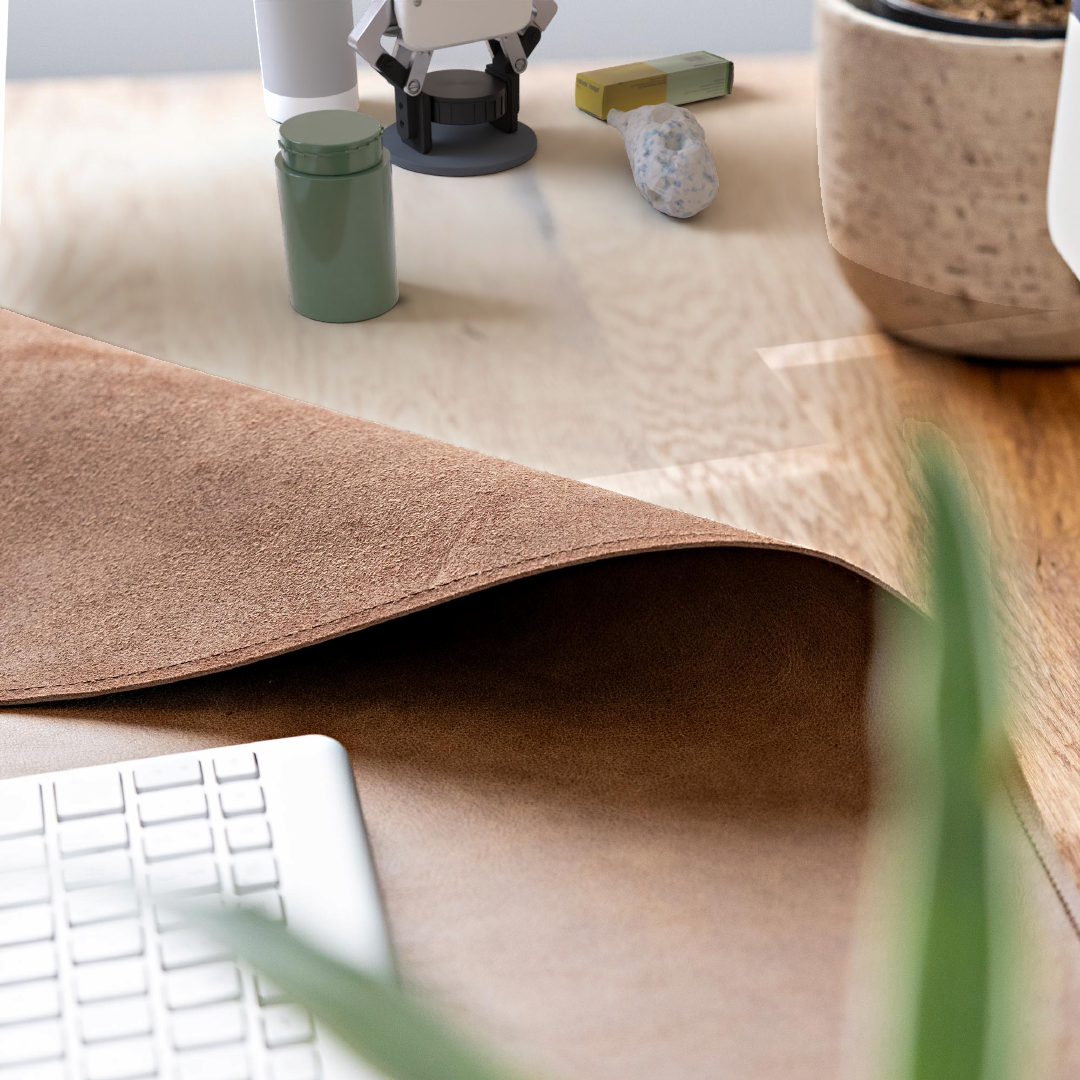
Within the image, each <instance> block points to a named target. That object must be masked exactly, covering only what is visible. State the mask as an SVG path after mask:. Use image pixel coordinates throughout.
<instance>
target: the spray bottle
mask: <svg viewBox="0 0 1080 1080" xmlns="http://www.w3.org/2000/svg"><path fill="white" fill-rule="evenodd" d="M252 1H253V10H254V18H255V19H254V20H255V28H256V29H255V30H256V36H257V45H258V54H259V62H260V71H261V80H262V87H263V89H262V90H263V98H264V107H265V111H266V114H267V116H268V117H269V118H270V119H272V120H273V121H274V122H278V123H280V124H282V123H283V122H284V121H286V120H287V119H289V118H291V117H293V116H296V115H299V114H303V113H307V112H312V111H320V110H349V111H356V112H359V109H360V94H359V82H358V66H357V52H356V51H355V50H354V49H353V48H351V47H350V45H349V44H348V36H349V34H350V33H351V31H352V30H353V29H354V27H355V24H354V11H353V9H354V8H353V0H252Z"/></svg>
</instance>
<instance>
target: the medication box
mask: <svg viewBox="0 0 1080 1080" xmlns="http://www.w3.org/2000/svg"><path fill="white" fill-rule="evenodd" d="M734 80H735V65H734V62H733V61H731V60H729V59H727V58H724V57H722V56H720V55H716V54H714V53H711V52H708V51H706V50H697V51H692V52H687V53H681V54H674V55H670V56H664V57H660V58H659V57H658V58H654V59H648V60H642V61H637V62H631V63H626V64H620V65H614V66H610V67H605V68H598V69H593V70H588V71H583V72H577V73H576V75H575V86H574V103H575V107H576V108H578V109H579V110H581V111H583V112H584V113H587V114H588V115H590V116H592V117H595V118H597V119H599V120H602V121H607V115H608V113H609V111H610V110H611V109H612V108H614V109H616V110H620V111H623V112H628V111H630V110H633V109H637V108H639V107H642V106H646V105H658V104H661V103H669V104H671V105H674V106H679V105H683V104H688V103H693V102H698V101H703V100H707V99H712V98H717V97H722V96H727V95H728V96H731V95H732V91H733V87H734V82H735V81H734Z"/></svg>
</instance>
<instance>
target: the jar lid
mask: <svg viewBox="0 0 1080 1080" xmlns="http://www.w3.org/2000/svg"><path fill="white" fill-rule="evenodd" d="M422 91H423V92H425V93H426V94H428V95H429V96H430V101H431V122H433V123H438V124H445V125H476V124H482V123H487V122H490V121H494V120H496V119H498V118H500V117H501V116H503V115H504V113H505V112H506V110H507V88H506V83H505V81H504V80H503V79H502V78H500V77H498V76H496V75H494V74H491V73H487V72H485V71H483V70H476V69H466V68H465V69H464V68H463V69H462V68H454V69H453V68H451V69H441V70H440V69H439V70H432V71H429V72H427V74H426V77H425V80H424V84H423V87H422Z"/></svg>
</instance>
